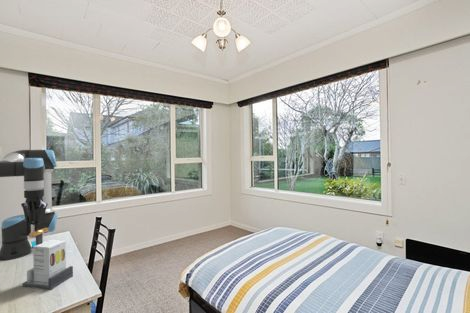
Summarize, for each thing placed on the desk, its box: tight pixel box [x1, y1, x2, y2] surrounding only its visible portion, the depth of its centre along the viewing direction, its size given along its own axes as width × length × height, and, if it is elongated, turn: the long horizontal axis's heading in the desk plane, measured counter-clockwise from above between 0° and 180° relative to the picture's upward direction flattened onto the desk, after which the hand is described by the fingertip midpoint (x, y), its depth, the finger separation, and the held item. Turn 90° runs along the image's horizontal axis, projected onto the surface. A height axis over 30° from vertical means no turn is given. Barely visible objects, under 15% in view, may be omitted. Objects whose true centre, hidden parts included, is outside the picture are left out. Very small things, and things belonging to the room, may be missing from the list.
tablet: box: [29, 240, 45, 248], centre depth 163 cm, size 20×12×2 cm, turn 43°
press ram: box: [26, 227, 49, 282], centre depth 117 cm, size 11×2×23 cm, turn 171°
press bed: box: [21, 265, 74, 291], centre depth 117 cm, size 12×16×5 cm
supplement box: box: [32, 239, 67, 283], centre depth 117 cm, size 10×9×17 cm
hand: (35, 236), depth 117 cm, fingers closed
